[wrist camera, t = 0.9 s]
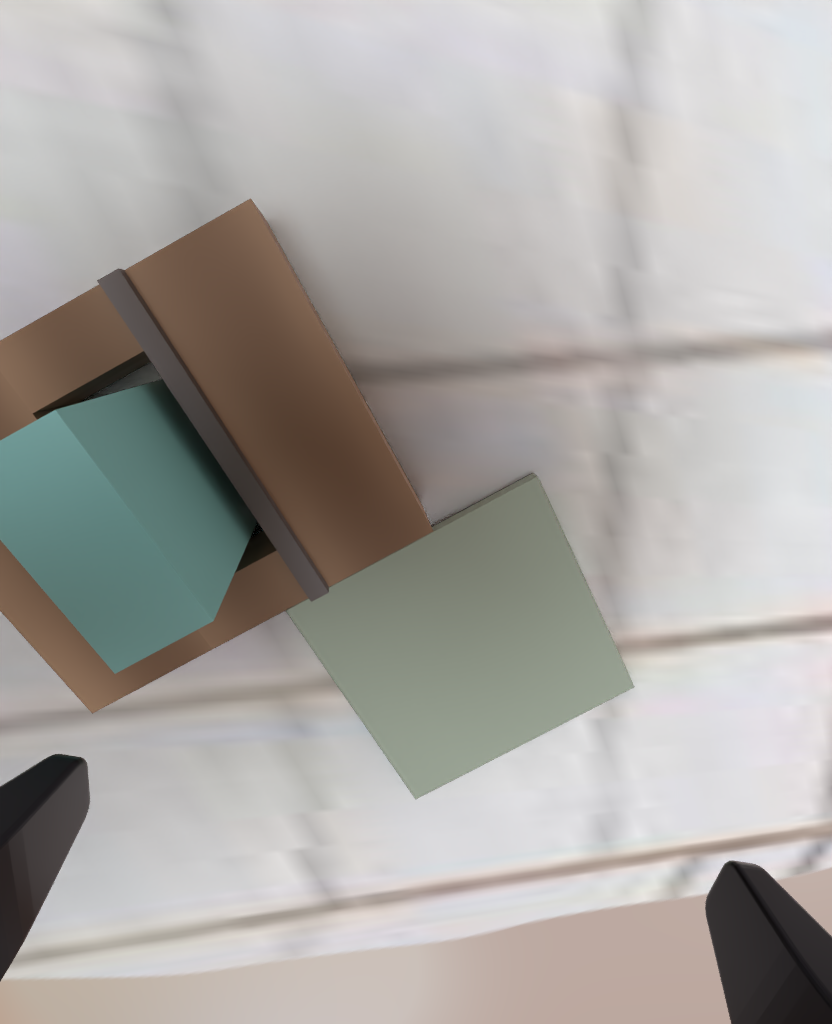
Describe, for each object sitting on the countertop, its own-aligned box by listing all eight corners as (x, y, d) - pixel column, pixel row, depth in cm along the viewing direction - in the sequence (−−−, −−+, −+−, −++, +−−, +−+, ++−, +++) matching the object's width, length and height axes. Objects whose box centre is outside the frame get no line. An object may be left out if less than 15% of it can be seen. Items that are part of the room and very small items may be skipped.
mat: (414, 790, 24) (415, 799, 23) (286, 604, 21) (285, 610, 20) (628, 680, 24) (634, 687, 23) (533, 472, 20) (537, 476, 20)
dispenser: (126, 660, 21) (86, 722, 17) (-78, 415, 17) (-174, 434, 14) (420, 502, 20) (435, 536, 17) (266, 220, 17) (248, 194, 14)
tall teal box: (202, 540, 20) (114, 673, 12) (110, 411, 18) (-58, 473, 10) (263, 507, 20) (213, 620, 12) (176, 375, 18) (55, 409, 10)
